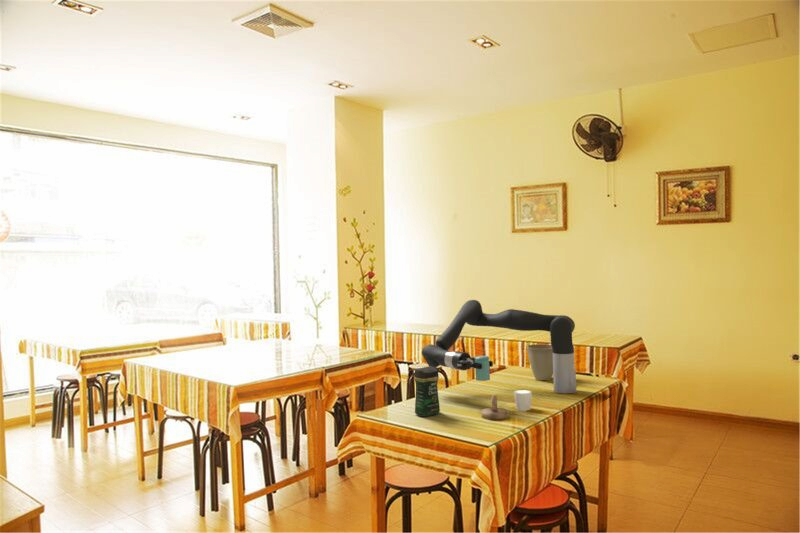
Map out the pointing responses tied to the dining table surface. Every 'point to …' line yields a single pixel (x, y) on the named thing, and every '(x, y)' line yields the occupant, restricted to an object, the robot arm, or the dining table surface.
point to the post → (494, 411)
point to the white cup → (523, 400)
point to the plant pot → (541, 361)
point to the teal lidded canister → (485, 371)
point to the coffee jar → (426, 391)
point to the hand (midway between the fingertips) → (486, 365)
